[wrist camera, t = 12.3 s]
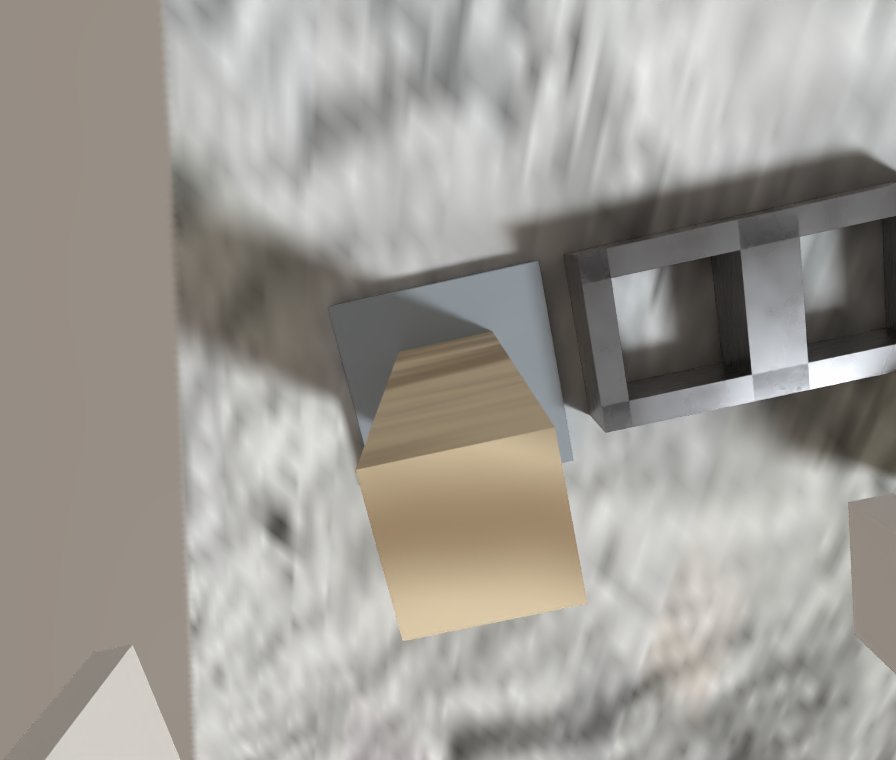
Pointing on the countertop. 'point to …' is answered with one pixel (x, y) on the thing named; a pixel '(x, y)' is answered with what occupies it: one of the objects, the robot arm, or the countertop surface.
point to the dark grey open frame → (732, 311)
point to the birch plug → (467, 492)
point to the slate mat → (452, 334)
